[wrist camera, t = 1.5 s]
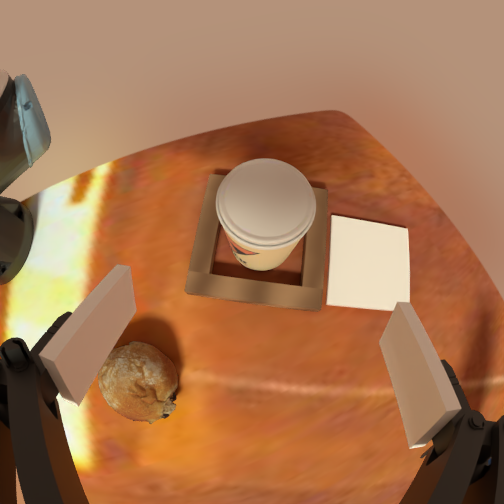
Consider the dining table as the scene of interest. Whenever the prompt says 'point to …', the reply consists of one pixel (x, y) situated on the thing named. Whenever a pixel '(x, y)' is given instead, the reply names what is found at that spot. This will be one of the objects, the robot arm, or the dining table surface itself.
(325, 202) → the square frame
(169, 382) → the bread roll
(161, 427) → the dining table surface
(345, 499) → the dining table surface
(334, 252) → the white tile
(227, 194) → the coffee cup
